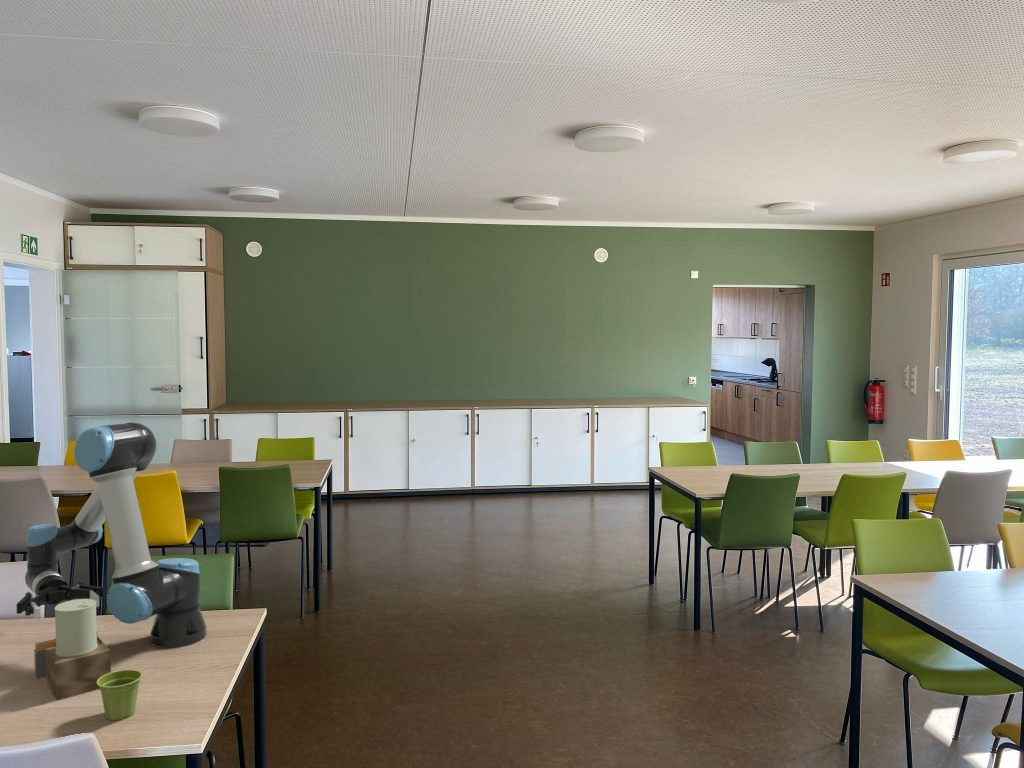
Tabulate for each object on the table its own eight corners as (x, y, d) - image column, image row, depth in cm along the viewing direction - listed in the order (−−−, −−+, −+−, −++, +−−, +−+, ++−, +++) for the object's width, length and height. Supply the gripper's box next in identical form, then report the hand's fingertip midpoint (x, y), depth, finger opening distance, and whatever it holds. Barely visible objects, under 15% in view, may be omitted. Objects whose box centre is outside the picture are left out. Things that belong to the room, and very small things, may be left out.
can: (79, 658, 183) (78, 610, 183) (46, 655, 185) (45, 608, 184) (106, 643, 193) (104, 597, 192) (74, 641, 194) (72, 595, 193)
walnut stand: (98, 670, 198) (97, 636, 197) (111, 685, 189) (110, 650, 188) (46, 683, 190) (45, 648, 189) (56, 700, 181) (55, 664, 180)
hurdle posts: (96, 660, 204) (96, 635, 203) (99, 663, 202) (98, 637, 202) (34, 675, 194) (34, 649, 194) (36, 678, 192) (36, 652, 192)
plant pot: (108, 705, 179) (107, 669, 178) (149, 703, 179) (148, 668, 179) (89, 725, 169) (88, 687, 169) (133, 723, 170) (132, 686, 170)
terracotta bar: (95, 635, 203) (95, 629, 203) (97, 637, 202) (97, 631, 202) (35, 649, 194) (35, 643, 194) (36, 651, 192) (36, 645, 192)
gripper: (100, 591, 219) (121, 610, 203) (-3, 611, 202) (11, 634, 186) (99, 566, 218) (120, 583, 202) (-4, 583, 201) (10, 604, 186)
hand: (68, 607), depth 194 cm, fingers open, 13 cm apart
